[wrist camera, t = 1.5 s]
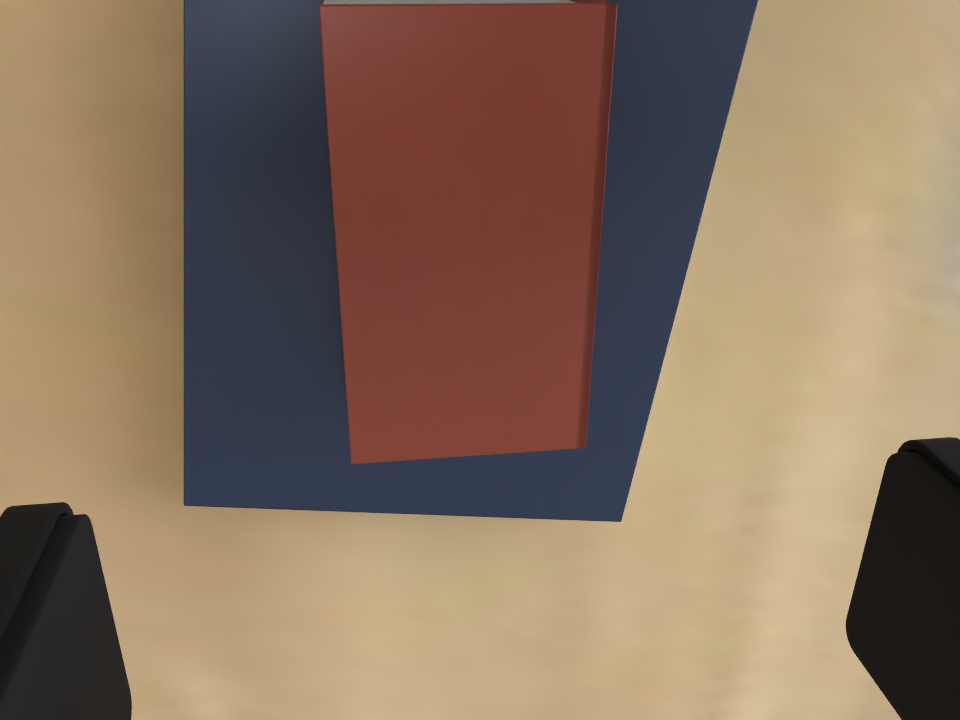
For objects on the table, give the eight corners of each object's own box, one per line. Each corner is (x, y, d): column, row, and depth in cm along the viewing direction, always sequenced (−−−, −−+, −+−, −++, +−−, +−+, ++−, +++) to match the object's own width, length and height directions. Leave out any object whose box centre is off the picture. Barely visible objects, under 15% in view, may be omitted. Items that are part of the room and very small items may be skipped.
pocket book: (577, -9, 22) (618, 3, 18) (557, 384, 27) (585, 448, 23) (322, -9, 21) (318, 5, 18) (350, 397, 26) (351, 464, 23)
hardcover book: (756, -159, 23) (802, -168, 21) (601, 478, 32) (621, 522, 29) (201, -267, 20) (183, -290, 18) (196, 459, 29) (183, 506, 27)
